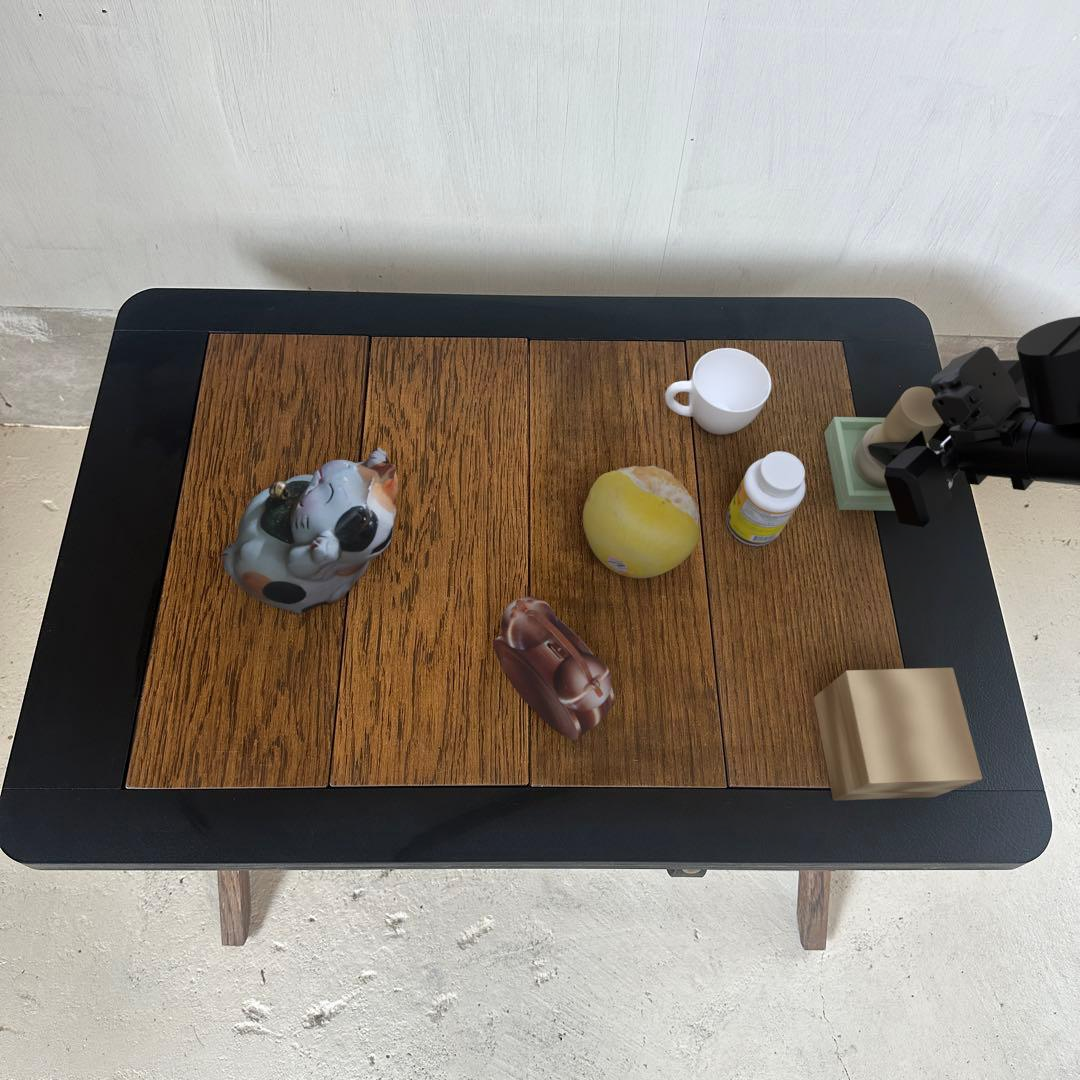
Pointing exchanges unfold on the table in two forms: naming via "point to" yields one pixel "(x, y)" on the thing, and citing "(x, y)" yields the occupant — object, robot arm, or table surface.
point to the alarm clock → (553, 668)
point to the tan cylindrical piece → (897, 431)
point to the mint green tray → (846, 481)
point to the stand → (895, 734)
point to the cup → (723, 391)
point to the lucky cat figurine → (314, 533)
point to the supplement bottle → (766, 498)
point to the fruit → (640, 521)
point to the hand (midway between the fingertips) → (884, 435)
